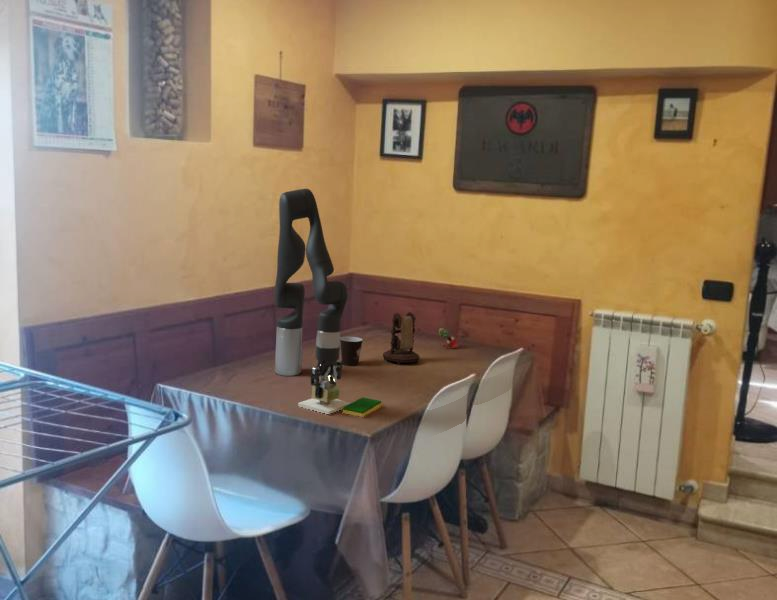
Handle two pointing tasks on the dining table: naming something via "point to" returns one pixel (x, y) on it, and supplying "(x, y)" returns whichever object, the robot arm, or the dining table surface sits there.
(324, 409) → the post board
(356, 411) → the dish sponge
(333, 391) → the collar
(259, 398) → the dining table surface
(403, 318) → the scroll
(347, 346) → the black tapered cylinder
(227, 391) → the dining table surface
